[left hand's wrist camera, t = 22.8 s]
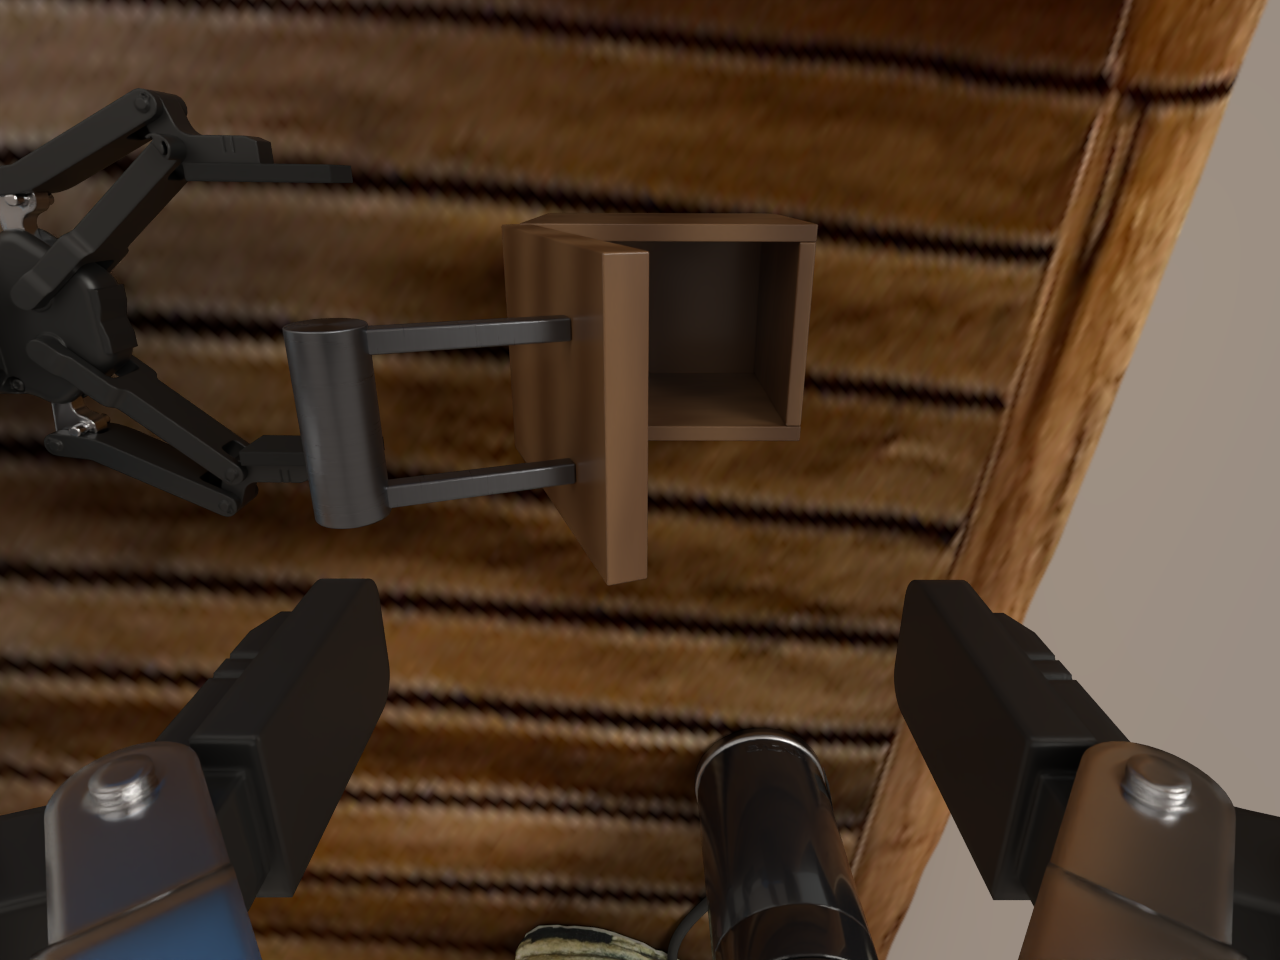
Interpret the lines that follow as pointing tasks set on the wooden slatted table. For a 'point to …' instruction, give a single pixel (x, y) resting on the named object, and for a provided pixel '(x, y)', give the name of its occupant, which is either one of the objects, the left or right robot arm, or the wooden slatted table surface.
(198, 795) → the left robot arm
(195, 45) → the wooden slatted table surface
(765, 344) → the chest
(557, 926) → the fossil
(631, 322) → the lid
